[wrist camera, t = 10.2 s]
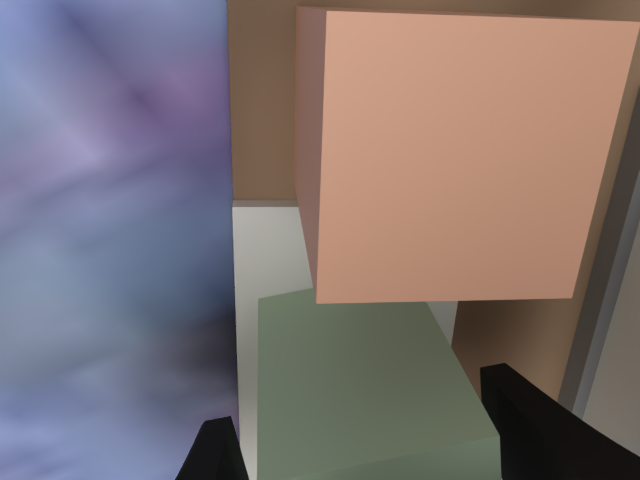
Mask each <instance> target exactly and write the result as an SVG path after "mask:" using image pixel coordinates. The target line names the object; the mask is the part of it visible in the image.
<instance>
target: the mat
mask: <svg viewBox="0 0 640 480" xmlns="http://www.w3.org/2000/svg"><path fill="white" fill-rule="evenodd" d="M232 215H233V246H234V276H235V307H236V337H237V368H238V398H239V429H240V449H241V452H242V456H243V459H244V463H245V466H246V470H247V473H248V476H249V480H257V386H258V299H259V298H264V297H269V296H274V295H279V294H284V293H290V292H295V291H300V290H305V289H310V288H313V283H312V278H311V273H310V267H309V262H308V256H307V251H306V245H305V240H304V235H303V229H302V224H301V218H300V213H299V207H298V202H297V200H233V205H232ZM426 302H427V304H428V306H429V308H430V310H431V312H432V313H433V315H434V317H435V319H436V321H437V322H438V324H439V326H440V328H441V330H442V332H443V333H444V335H445V337H446V339H447V341H448V343H449V344H450V346H451V343H452V337H453V330H454V324H455V317H456V311H457V305H458V301H426Z"/></svg>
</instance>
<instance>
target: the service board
mask: <svg viewBox="0 0 640 480" xmlns="http://www.w3.org/2000/svg"><path fill="white" fill-rule="evenodd" d="M296 6H314V7H342V8H370V9H398V10H425V11H453V12H478V13H495V14H513V15H530V16H547V17H565V18H582V19H599V20H617V21H634V22H640V0H227V21H228V53H229V84H230V116H231V147H232V179H233V200H297V197H296V191H295V186H294V125H295V58H296ZM639 86H640V28H639V32H638V36H637V40H636V44H635V48H634V52H633V56H632V60H631V64H630V68H629V72H628V76H627V80H626V84H625V88H624V92H623V96H622V100H621V104H620V108H619V112H618V116H617V120H616V124H615V128H614V132H613V136H612V140H611V144H610V148H609V152H608V156H607V160H606V164H605V168H604V172H603V176H602V180H601V184H600V188H599V192H598V196H597V200H596V204H595V208H594V212H593V216H592V220H591V224H590V228H589V232H588V236H587V240H586V244H585V248H584V252H583V256H582V260H581V264H580V268H579V272H578V276H577V280H576V284H575V288H574V292H573V296H572V298H561V299H515V300H469V301H458V305H457V311H456V317H455V324H454V330H453V337H452V343H451V348H452V350H453V352H454V353H455V355H456V357H457V359H458V361H459V363H460V364H461V366H462V368H463V370H464V372H465V373H466V375H467V377H468V379H469V381H470V383H471V384H472V386H473V388H474V390H475V392H476V393H477V395H478V397H479V399H480V401H481V383H480V367H485V366H491V365H496V364H501V363H506V364H508V365H509V366H510V367H512V368H513V369H514V370H516V371H517V372H518V373H519V374H521V375H522V376H523V377H525V378H526V379H527V380H528V381H530V382H531V383H532V384H534V385H535V386H536V387H537V388H539V389H540V390H541V391H543V392H544V393H545V394H547V395H548V396H549V397H551V398H552V399H553V400H555V401H556V402H557V400H558V397H559V393H560V389H561V385H562V381H563V378H564V374H565V370H566V366H567V362H568V358H569V355H570V351H571V347H572V343H573V339H574V335H575V332H576V328H577V324H578V320H579V316H580V312H581V309H582V305H583V301H584V297H585V293H586V289H587V286H588V282H589V278H590V274H591V270H592V266H593V263H594V259H595V255H596V251H597V247H598V243H599V240H600V236H601V232H602V228H603V224H604V220H605V217H606V213H607V209H608V205H609V201H610V197H611V194H612V190H613V186H614V182H615V178H616V174H617V171H618V167H619V163H620V159H621V155H622V151H623V148H624V144H625V140H626V136H627V132H628V128H629V125H630V121H631V117H632V113H633V109H634V105H635V102H636V98H637V94H638V90H639Z"/></svg>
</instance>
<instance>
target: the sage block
mask: <svg viewBox="0 0 640 480" xmlns="http://www.w3.org/2000/svg"><path fill="white" fill-rule="evenodd" d="M257 480H501V455H500V435H499V434H498V432H497V430H496V428H495V426H494V424H493V423H492V421H491V419H490V417H489V415H488V414H487V412H486V410H485V408H484V406H483V404H482V403H481V401H480V399H479V397H478V395H477V393H476V392H475V390H474V388H473V386H472V384H471V383H470V381H469V379H468V377H467V375H466V373H465V372H464V370H463V368H462V366H461V364H460V363H459V361H458V359H457V357H456V355H455V353H454V352H453V350H452V348H451V346H450V344H449V343H448V341H447V339H446V337H445V335H444V333H443V332H442V330H441V328H440V326H439V324H438V322H437V321H436V319H435V317H434V315H433V313H432V312H431V310H430V308H429V306H428V304H427V302H426V301H422V302H376V303H330V304H316V300H315V294H314V289H313V288H310V289H305V290H300V291H295V292H290V293H284V294H279V295H274V296H269V297H264V298H259V299H258V386H257Z"/></svg>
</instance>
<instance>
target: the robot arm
mask: <svg viewBox="0 0 640 480" xmlns="http://www.w3.org/2000/svg"><path fill="white" fill-rule="evenodd" d="M480 383H481V403H482V404H483V406H484V408H485V410H486V412H487V414H488V415H489V417H490V419H491V421H492V423H493V424H494V426H495V428H496V430H497V432H498V434H499V435H500V455H501V478H502V479H503V480H640V456H638V455H636V454H635V453H633V452H631V451H629V450H628V449H626V448H624V447H623V446H621V445H619V444H618V443H616V442H615V441H613V440H611V439H610V438H608V437H607V436H605V435H604V434H602V433H600V432H599V431H597V430H596V429H594V428H593V427H591V426H590V425H589V424H587V423H586V422H584V421H583V420H581V419H580V418H578V417H577V416H576V415H574V414H573V413H571V412H570V411H569V410H567V409H566V408H564V407H563V406H562V405H560V404H559V403H557V402H556V401H555V400H553V399H552V398H551V397H549V396H548V395H547V394H545V393H544V392H543V391H541V390H540V389H539V388H537V387H536V386H535V385H534V384H532V383H531V382H530V381H528V380H527V379H526V378H525V377H523V376H522V375H521V374H519V373H518V372H517V371H516V370H514V369H513V368H512V367H510V366H509V365H508V364H506V363H501V364H496V365H491V366H485V367H480ZM175 480H249V476H248V473H247V470H246V466H245V463H244V459H243V456H242V452H241V449H240V446H239V442H238V439H237V435H236V432H235V429H234V425H233V422H232V418H231V416H228V417H223V418H218V419H213V420H208V421H205V422H204V423H203V424H202V426H201V428H200V430H199V432H198V435H197V437H196V439H195V441H194V443H193V445H192V447H191V450H190V452H189V454H188V456H187V458H186V460H185V462H184V464H183V466H182V468H181V470H180V472H179V473H178V475H177V477H176V479H175Z"/></svg>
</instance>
